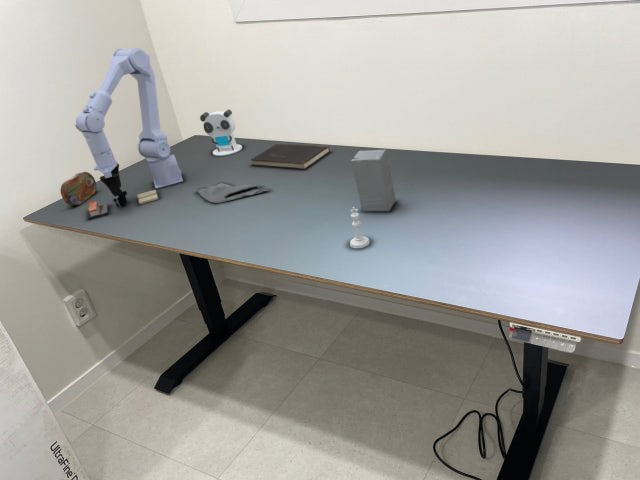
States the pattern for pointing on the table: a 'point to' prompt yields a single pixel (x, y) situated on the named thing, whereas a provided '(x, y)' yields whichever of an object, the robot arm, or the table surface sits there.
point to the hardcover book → (290, 156)
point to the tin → (78, 188)
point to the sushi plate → (97, 210)
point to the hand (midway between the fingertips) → (117, 191)
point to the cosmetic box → (373, 180)
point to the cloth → (228, 192)
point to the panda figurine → (221, 132)
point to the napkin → (147, 196)
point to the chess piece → (358, 233)
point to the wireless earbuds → (121, 198)
